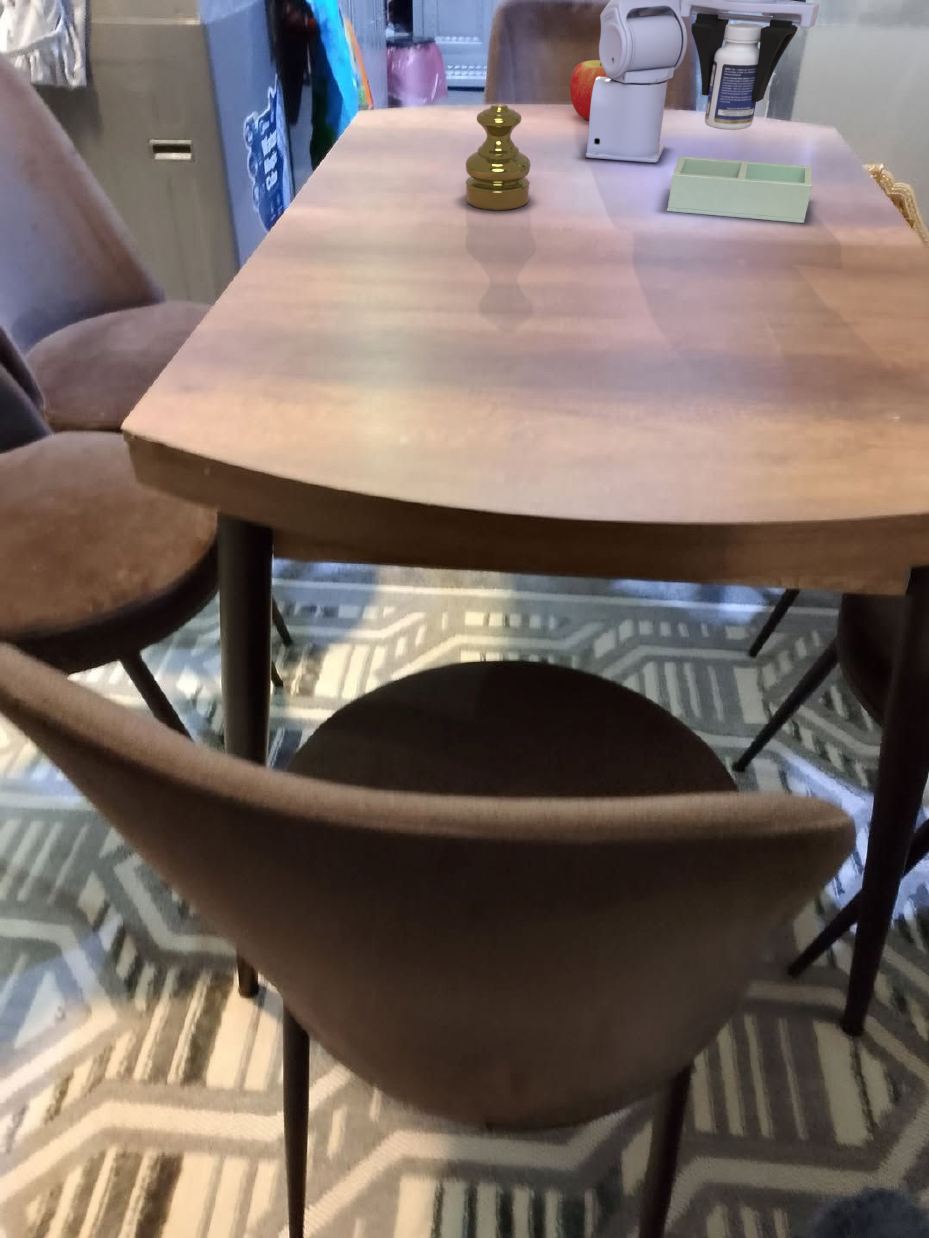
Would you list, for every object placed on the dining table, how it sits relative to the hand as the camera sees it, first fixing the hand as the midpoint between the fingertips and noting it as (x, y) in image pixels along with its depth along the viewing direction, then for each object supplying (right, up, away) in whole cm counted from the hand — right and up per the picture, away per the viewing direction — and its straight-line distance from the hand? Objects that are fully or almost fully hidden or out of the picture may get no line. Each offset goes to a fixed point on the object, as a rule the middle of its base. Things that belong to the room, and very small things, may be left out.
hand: (732, 97), depth 103 cm
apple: (-11, +16, +34) cm, 39 cm away
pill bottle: (0, -2, +2) cm, 3 cm away
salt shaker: (-27, -11, +3) cm, 29 cm away
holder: (+1, -12, +2) cm, 12 cm away
